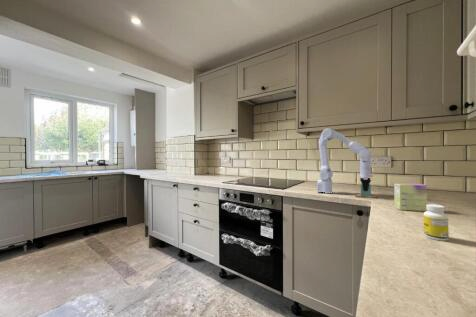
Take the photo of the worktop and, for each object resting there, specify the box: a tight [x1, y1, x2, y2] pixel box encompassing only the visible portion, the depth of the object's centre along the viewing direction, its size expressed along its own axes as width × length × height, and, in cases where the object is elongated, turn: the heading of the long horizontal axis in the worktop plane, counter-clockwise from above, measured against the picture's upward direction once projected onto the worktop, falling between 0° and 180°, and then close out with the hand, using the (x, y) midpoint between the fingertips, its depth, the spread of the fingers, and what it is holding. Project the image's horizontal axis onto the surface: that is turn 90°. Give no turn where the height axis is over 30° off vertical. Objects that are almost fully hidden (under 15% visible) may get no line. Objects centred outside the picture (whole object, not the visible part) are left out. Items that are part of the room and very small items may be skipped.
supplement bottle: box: [423, 203, 450, 242], centre depth 62 cm, size 5×5×10 cm
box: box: [393, 182, 428, 212], centre depth 94 cm, size 10×6×12 cm, turn 74°
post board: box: [354, 192, 378, 200], centre depth 126 cm, size 11×11×5 cm
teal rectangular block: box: [360, 183, 372, 196], centre depth 126 cm, size 5×5×7 cm
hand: (365, 190), depth 126 cm, fingers open, 7 cm apart
